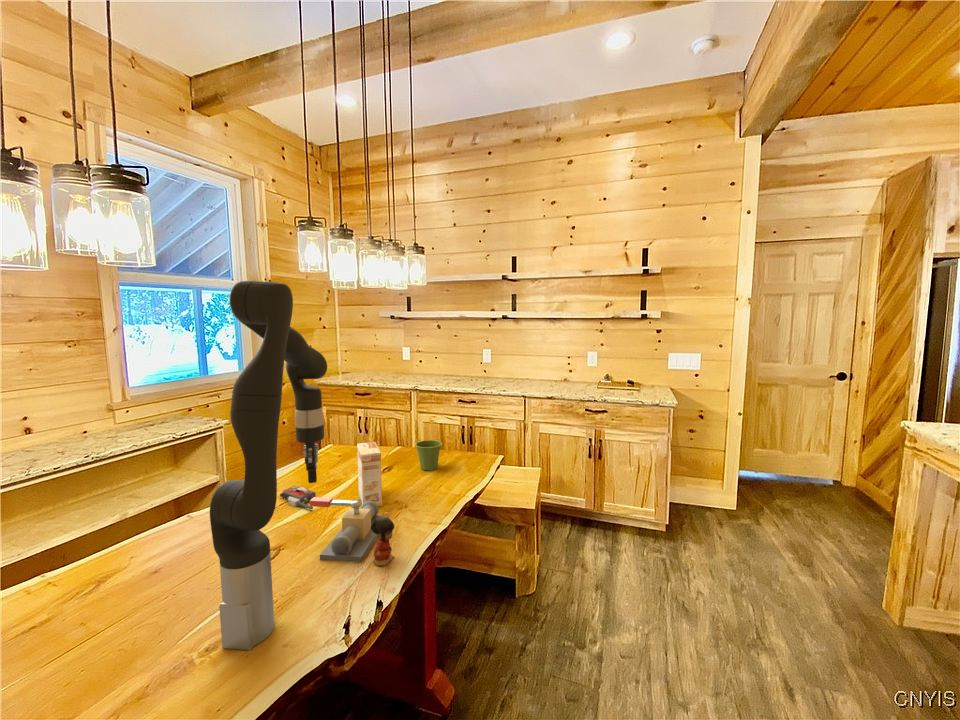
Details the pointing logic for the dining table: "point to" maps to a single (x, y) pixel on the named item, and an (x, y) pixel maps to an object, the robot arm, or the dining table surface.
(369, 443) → the coffeecake box
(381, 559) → the figurine
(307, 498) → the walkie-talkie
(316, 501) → the lever
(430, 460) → the plant pot
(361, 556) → the valve stand
